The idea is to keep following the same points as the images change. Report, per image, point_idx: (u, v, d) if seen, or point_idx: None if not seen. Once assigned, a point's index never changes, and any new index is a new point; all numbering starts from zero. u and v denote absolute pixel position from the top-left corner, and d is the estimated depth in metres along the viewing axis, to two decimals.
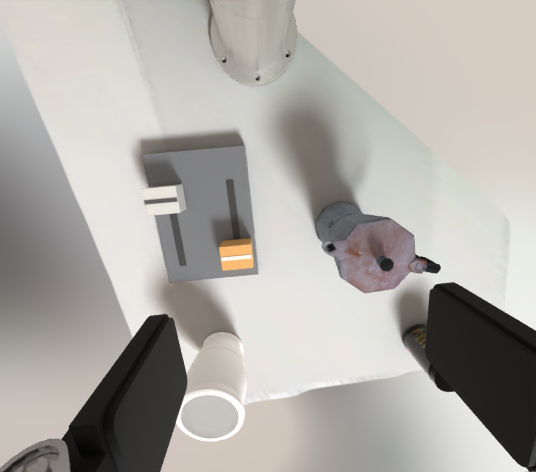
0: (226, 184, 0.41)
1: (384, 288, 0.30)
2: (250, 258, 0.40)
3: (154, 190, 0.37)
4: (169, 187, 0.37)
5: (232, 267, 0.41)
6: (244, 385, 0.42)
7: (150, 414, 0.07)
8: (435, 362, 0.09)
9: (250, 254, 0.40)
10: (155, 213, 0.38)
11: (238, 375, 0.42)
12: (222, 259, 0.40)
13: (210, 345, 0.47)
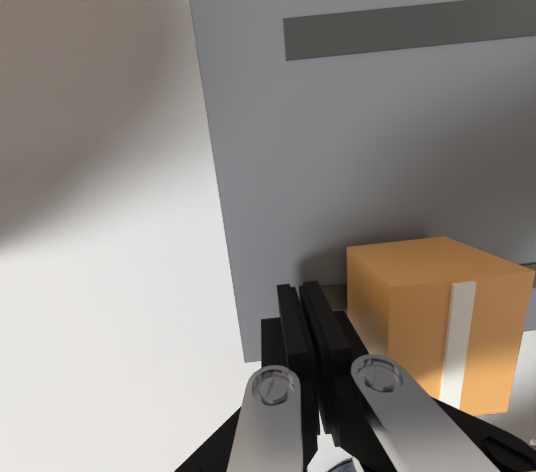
0: None
1: None
2: None
3: None
4: None
5: (400, 336, 0.07)
6: None
7: None
8: None
9: None
10: None
11: None
12: (463, 290, 0.07)
13: None
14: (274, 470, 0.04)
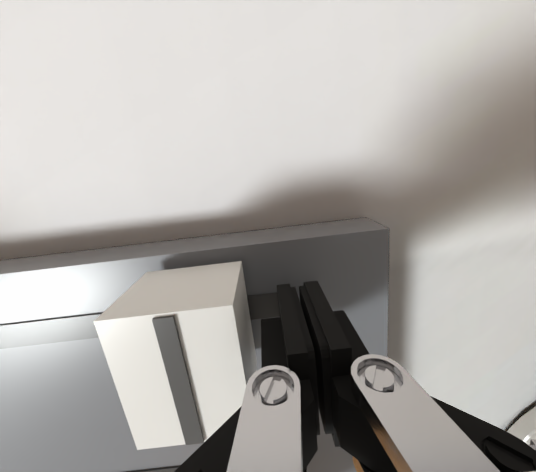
0: None
1: None
2: None
3: (229, 359, 0.08)
4: None
5: None
6: None
7: None
8: None
9: None
10: (114, 358, 0.08)
11: None
12: None
13: None
14: (274, 470, 0.04)
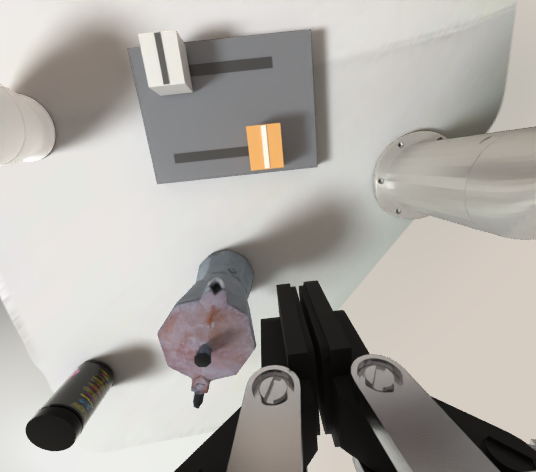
0: None
1: (166, 355, 0.24)
2: (264, 166, 0.30)
3: (175, 50, 0.27)
4: (181, 75, 0.28)
5: (250, 140, 0.30)
6: None
7: None
8: None
9: (270, 166, 0.30)
10: (143, 48, 0.27)
11: None
12: (263, 127, 0.29)
13: (25, 109, 0.30)
14: (274, 470, 0.04)
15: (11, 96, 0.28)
